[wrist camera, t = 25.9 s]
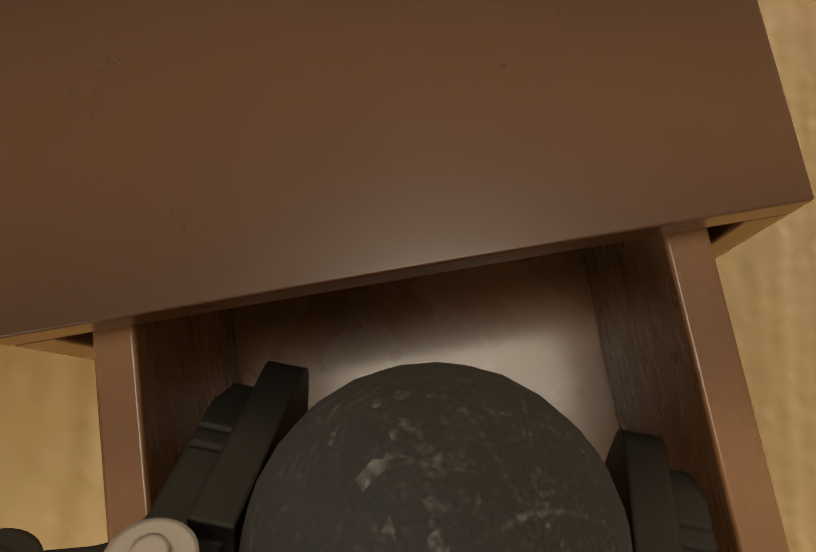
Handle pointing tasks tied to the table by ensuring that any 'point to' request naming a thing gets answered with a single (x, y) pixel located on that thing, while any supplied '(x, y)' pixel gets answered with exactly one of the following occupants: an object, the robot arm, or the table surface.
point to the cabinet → (363, 145)
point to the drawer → (474, 364)
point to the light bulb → (435, 472)
